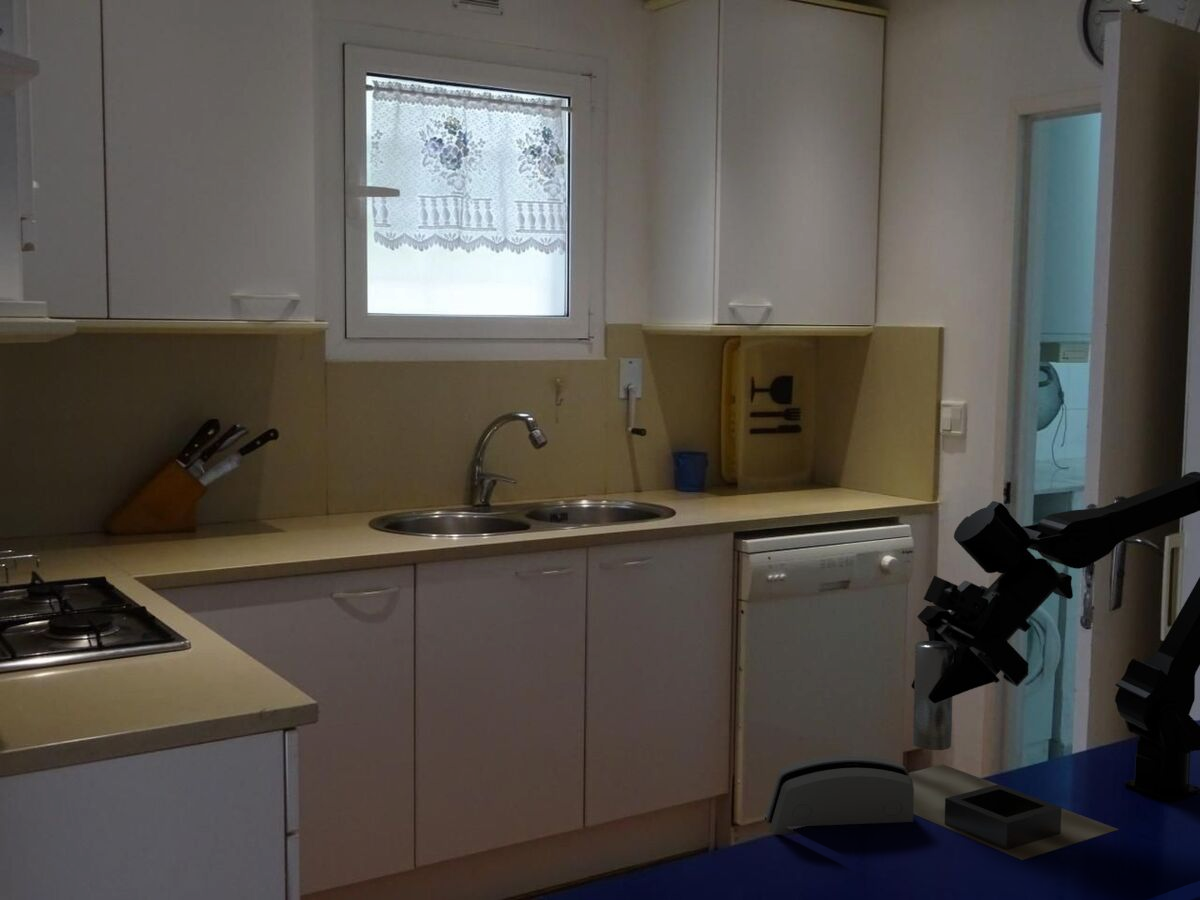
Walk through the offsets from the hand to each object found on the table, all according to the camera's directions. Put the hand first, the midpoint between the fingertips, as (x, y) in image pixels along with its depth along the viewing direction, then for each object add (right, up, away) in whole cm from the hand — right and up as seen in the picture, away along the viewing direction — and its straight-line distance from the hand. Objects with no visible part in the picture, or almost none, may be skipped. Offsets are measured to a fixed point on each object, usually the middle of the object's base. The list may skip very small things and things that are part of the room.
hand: (922, 694), depth 159 cm
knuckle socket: (+7, -13, -9) cm, 17 cm away
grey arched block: (-11, -15, -6) cm, 19 cm away
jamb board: (+6, -14, -2) cm, 15 cm away
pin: (+1, -6, +1) cm, 6 cm away
